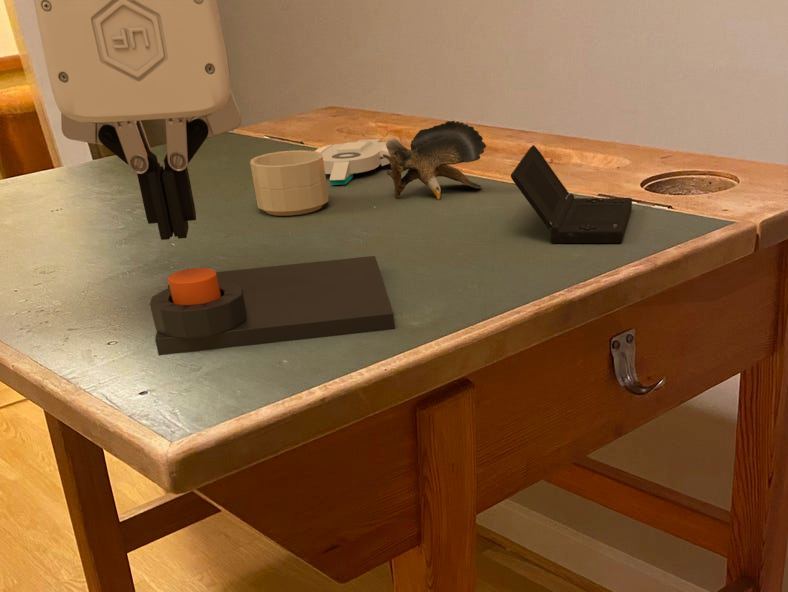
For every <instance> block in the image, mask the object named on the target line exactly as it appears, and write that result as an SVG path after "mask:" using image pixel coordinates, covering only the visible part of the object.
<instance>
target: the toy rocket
mask: <svg viewBox="0 0 788 592" xmlns="http://www.w3.org/2000/svg"><path fill="white" fill-rule="evenodd" d="M386 143H387V141H382V139H381V138H373V139H359V140H358V139H357V140H356V141H350V142H349V141H347V142H346V141H345V142H344V143H333V144H332V143H330V144H327V145H324V146H322V147H318V148H316V149H315V151H316V152H319V153H322V156H323V162H324V170H325V175H330V176H329V181H330V186H334V185H335V186H337V185H347V184H348V183H349V182H350V181H351V180H353V178H354V174H359V173H360V174H361V173H365V172H369V171H372V170H375V169H377V168H378V167H380V166H381V167H384V166H386V165H390V162H389V160H388V159H387V158H385V157H383V154H385V155H388V156H390V157H391V155H390V154H389V152H388V149H387V147H386Z"/></svg>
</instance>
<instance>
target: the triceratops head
mask: <svg viewBox="0 0 788 592" xmlns="http://www.w3.org/2000/svg"><path fill="white" fill-rule="evenodd" d="M483 139H484V138H483V136H482V135H480V132H479V131H478V130H476V129H475V127H473V126H471V125H469V124H468V123H464V122H460V121H455V120H451V121H450V120H447V121H445V123H441V124H437V125H433V126H432V127H429V128H424V129H420V130H418V132H417V133H416V134H415V136H414V137H413V139H412V140H411V141H410V149H408V148H407V147H406V146H404V145H403V144H402V143H400V141H399V140H398V139H396V138H390V139H389V140H387V141H386V142H387V143H386V147H387V149H388V152H389V154H390V155H391V157H390V156H388V155H385V154H383V157H385V158H387V159H388V160H389V162H390V163H389V165H390V168H391V170H387V171H386V175H387V176H389V177H390V178H391V179H392V181H393V184H394V194H393V195H394V198H395V199H397V198H399V197H401V193H403V192H404V190H405V188H406V186H407V185H408V184H409V183H412V182H413V181H415V180H419V181H420V182H421V183H423V184H424V185H425V186H427V188H429V189H430V190H431V191H432V193H433V194H434V195H435V197H436V200H440V199H441V191H442V190H441V186H440V184H439V181H438V180H437V177H438V178H439V177H441V178H443V177H444V178H447V179H450V180H452V181H455V182H459V183H462V184H464V185H466V186H468V187H470V188H473V189H475V190H476V189H478V190H481V189H483V186H482V185H480V184H478V183H475V182H473V181H471V180H470V179H469V178H468V177H467V176H466V175H465V174H464V173H463V172H462V171H461V170H459V168H456V167H454V166H452V165H458V164H462V163H472V162H475V161H478V160H480V159H481V155H482V154H484V153H485V149H486V148H487V144H486V143H485V142H484V141H483ZM405 171H406V173H405V174H404V176H402V173H403V172H405Z"/></svg>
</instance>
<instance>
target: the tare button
mask: <svg viewBox="0 0 788 592" xmlns="http://www.w3.org/2000/svg"><path fill="white" fill-rule="evenodd" d="M216 272H217V271H216V270H214V269H212V268H207V267H194V268H186V269H181V270H178V271H175V272H173V273H171V274H170V275H168V277H167V281H168V284H169V286H170V291H171V295H172V299H173V303H174V304H177V305H194V304H204V303H207V302H211V301H214V300H217V299H219V298H220V297H221V294H220V289H219V284H218V279H217V274H216Z"/></svg>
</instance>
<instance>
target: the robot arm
mask: <svg viewBox="0 0 788 592" xmlns="http://www.w3.org/2000/svg"><path fill="white" fill-rule="evenodd" d="M33 2H34V8H35V13H36V19H37V25H38V30H39V35H40V39H41V45H42V49H43V56H44V60H45V65H46V70H47V73H48V74H47V75H48V78H49V83H50V87H51V91H52V94H53V95H52V96H53V98H54V101H55V104H56V106H57V108H58V110H59V111H60V116H61V117H60V120H61V123H60V124H61V133H62V135H63V136H64V137H65V138H67V139H68V140H71V141H76V142H77V141H78V142H83V143H87V144H92V145H100V146H101V145H102V146H104V147H105V148H106V149H108V150H109V151H110V152H111V153H113V154H114V155H115V156H117V157H118V158H119V159H120V160H121V161H122V162H124V163H125V164H126V165H128V167H129V168H130V170H131V171H132V172H134V173H135V174H136V175H137V180H138V185H139V190H140V194H141V198H142V199H141V200H142V203H143V208H144V212H145V218H146V221H147V224H148V225H150V224H157V228H158V233H159V237H160V240H161V241H167V240H170V239H171V238H173V236H174V237H175V238H177V239H179V240H180V239H187V237H188V233H189V222H190V221H191V222H192V221H197V212H196V205H195V200H194V196H193V190H192V184H191V180H190V173H189V168H188V165H189V164H190V162H191V160H192V159H193V158H194V157H195V155H196V154H197V152H198V151H199V149H200V148H201V146H202V145H203V144H204V142H205V141H206V140H207V139H211V138H212V137H216V136H219V135H223V134H224V133H228V132H230V131H234V130H236V129H238V128H239V127H241V124H242V115H241V112H240V111H241V110H240V109H239V107H238V104H237V101H236V98H235V96H234V94H233V90H232V88H231V78H230V76H231V75H230V66H229V65H230V64H229V58H228V51H227V46H226V41H225V36H224V31H223V27H222V21H221V15H220V11H219V6H218V1H217V0H33ZM164 119H165V134H166V135H165V136H166V137H165V138H166V154H165V156H164V159H163V164H164V166H163V165H161V164H160V162H159V161H158V156H157V155H156V154H155V153H153V152H152V148H151V146H150V143H149V140H148V137H147V134H146V131H145V128H144V126H143V123H142V121H150V120H151V121H153V120H164Z"/></svg>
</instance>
